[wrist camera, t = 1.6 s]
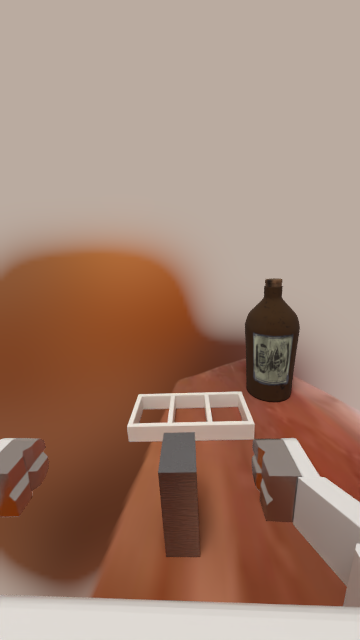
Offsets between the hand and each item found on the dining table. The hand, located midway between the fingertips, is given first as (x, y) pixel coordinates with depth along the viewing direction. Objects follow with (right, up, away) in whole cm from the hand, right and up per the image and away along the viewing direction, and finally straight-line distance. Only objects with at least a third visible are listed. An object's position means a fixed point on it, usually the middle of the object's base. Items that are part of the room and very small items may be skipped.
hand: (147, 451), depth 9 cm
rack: (+3, -14, +35) cm, 38 cm away
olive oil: (+21, -11, +43) cm, 50 cm away
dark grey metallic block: (+2, -19, +17) cm, 26 cm away
